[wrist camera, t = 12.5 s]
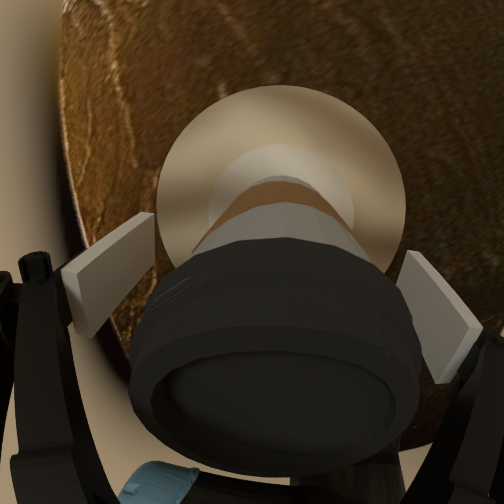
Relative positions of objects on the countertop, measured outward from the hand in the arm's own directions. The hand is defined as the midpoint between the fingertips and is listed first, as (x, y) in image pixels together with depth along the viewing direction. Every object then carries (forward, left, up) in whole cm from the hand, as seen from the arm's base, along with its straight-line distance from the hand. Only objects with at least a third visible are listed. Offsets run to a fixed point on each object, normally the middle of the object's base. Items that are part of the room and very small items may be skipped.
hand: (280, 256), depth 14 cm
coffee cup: (0, 0, -6) cm, 6 cm away
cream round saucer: (0, 0, -8) cm, 8 cm away
